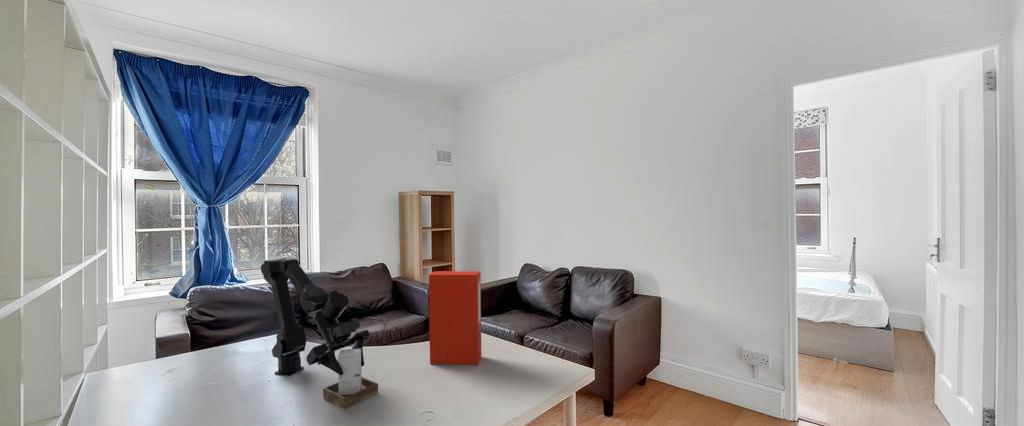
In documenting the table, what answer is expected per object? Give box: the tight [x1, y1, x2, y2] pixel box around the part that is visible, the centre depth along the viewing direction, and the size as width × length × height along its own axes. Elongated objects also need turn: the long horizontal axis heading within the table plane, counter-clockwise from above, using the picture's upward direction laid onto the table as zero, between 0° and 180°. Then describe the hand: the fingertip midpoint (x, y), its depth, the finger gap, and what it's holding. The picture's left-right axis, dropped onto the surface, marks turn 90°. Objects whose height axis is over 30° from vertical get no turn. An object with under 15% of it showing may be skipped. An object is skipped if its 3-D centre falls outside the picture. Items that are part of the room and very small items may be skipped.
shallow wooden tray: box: [322, 376, 379, 410], centre depth 117 cm, size 11×11×3 cm
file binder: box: [428, 270, 482, 366], centre depth 142 cm, size 8×17×32 cm, turn 86°
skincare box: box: [337, 348, 363, 395], centre depth 117 cm, size 6×4×12 cm
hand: (353, 370), depth 117 cm, fingers closed on skincare box, 7 cm apart
